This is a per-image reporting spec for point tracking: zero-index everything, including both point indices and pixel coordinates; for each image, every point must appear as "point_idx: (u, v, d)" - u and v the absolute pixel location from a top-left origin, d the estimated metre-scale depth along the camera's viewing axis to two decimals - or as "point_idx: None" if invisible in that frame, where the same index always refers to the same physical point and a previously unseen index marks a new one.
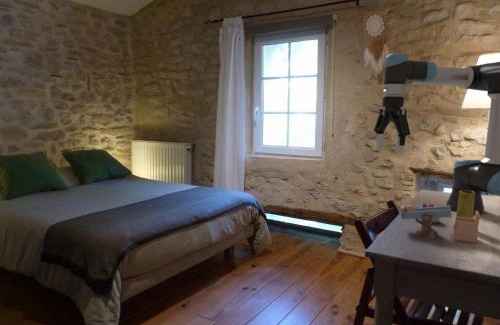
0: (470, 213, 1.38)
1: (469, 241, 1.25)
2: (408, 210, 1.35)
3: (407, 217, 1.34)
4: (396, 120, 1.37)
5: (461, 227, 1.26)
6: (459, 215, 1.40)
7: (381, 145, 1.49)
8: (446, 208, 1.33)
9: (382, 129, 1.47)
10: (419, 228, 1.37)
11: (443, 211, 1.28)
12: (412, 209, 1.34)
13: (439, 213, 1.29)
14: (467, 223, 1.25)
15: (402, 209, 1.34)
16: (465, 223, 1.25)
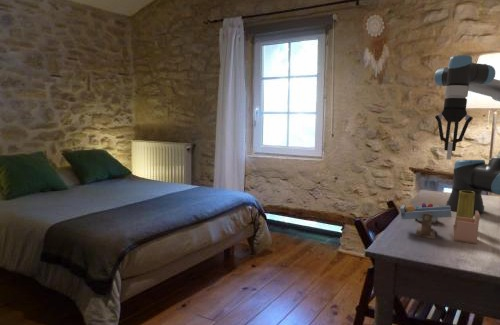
0: (470, 213, 1.38)
1: (469, 241, 1.25)
2: (408, 210, 1.35)
3: (407, 217, 1.34)
4: None
5: (461, 227, 1.26)
6: (459, 215, 1.40)
7: None
8: (446, 208, 1.33)
9: (453, 135, 1.42)
10: (419, 228, 1.37)
11: (443, 211, 1.28)
12: (412, 209, 1.34)
13: (439, 213, 1.29)
14: (467, 223, 1.25)
15: (402, 209, 1.34)
16: (465, 223, 1.25)
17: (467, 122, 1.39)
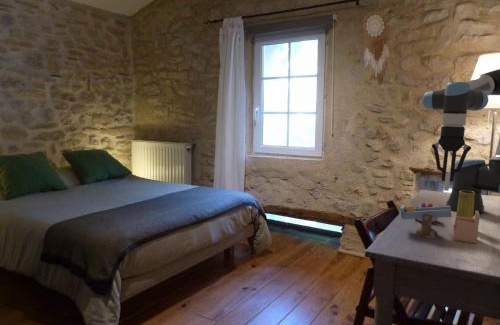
0: (470, 213, 1.38)
1: (469, 241, 1.25)
2: (408, 210, 1.35)
3: (407, 217, 1.34)
4: None
5: (461, 227, 1.26)
6: (459, 215, 1.40)
7: None
8: (446, 208, 1.33)
9: (451, 165, 1.35)
10: (419, 228, 1.37)
11: (443, 211, 1.28)
12: (412, 209, 1.34)
13: (439, 213, 1.29)
14: (467, 223, 1.25)
15: (402, 209, 1.34)
16: (465, 223, 1.25)
17: (465, 152, 1.32)
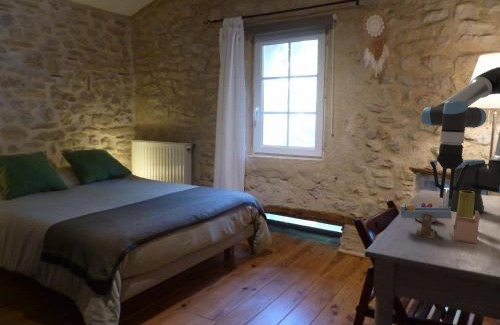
0: (470, 213, 1.38)
1: (469, 241, 1.25)
2: (408, 209, 1.35)
3: (407, 216, 1.34)
4: None
5: (461, 227, 1.26)
6: (459, 215, 1.40)
7: None
8: (446, 209, 1.33)
9: None
10: (419, 228, 1.37)
11: (443, 212, 1.28)
12: (412, 208, 1.34)
13: (439, 214, 1.29)
14: (467, 223, 1.25)
15: (402, 207, 1.34)
16: (465, 223, 1.25)
17: (464, 170, 1.33)
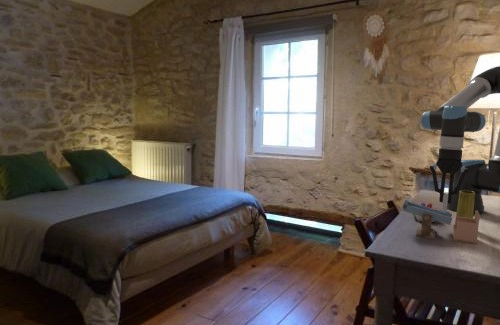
0: (470, 213, 1.38)
1: (469, 241, 1.25)
2: None
3: (408, 210, 1.34)
4: None
5: (461, 227, 1.26)
6: (459, 215, 1.40)
7: None
8: (447, 215, 1.33)
9: None
10: (419, 228, 1.37)
11: (444, 217, 1.28)
12: None
13: (440, 217, 1.29)
14: (467, 223, 1.25)
15: (406, 201, 1.33)
16: (465, 223, 1.25)
17: (463, 174, 1.33)
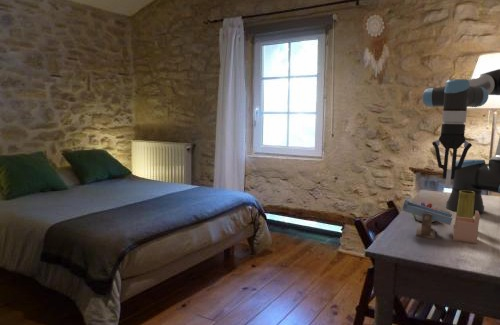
0: (470, 213, 1.38)
1: (469, 241, 1.25)
2: None
3: (408, 210, 1.34)
4: None
5: (461, 227, 1.26)
6: (459, 215, 1.40)
7: None
8: (447, 215, 1.33)
9: (452, 162, 1.35)
10: (419, 228, 1.37)
11: (444, 217, 1.28)
12: None
13: (440, 217, 1.29)
14: (467, 223, 1.25)
15: (406, 201, 1.33)
16: (465, 223, 1.25)
17: (466, 149, 1.32)
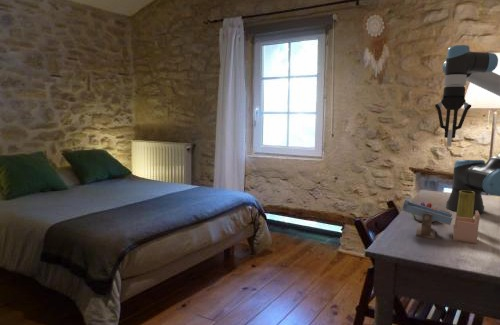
0: (470, 213, 1.38)
1: (469, 241, 1.25)
2: None
3: (408, 210, 1.34)
4: None
5: (461, 227, 1.26)
6: (459, 215, 1.40)
7: None
8: (447, 215, 1.33)
9: (453, 123, 1.47)
10: (419, 228, 1.37)
11: (444, 217, 1.28)
12: None
13: (440, 217, 1.29)
14: (467, 223, 1.25)
15: (406, 201, 1.33)
16: (465, 223, 1.25)
17: (466, 110, 1.44)
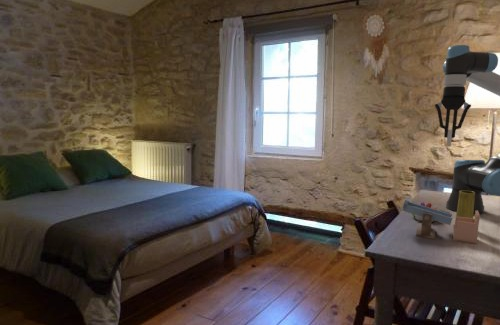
0: (470, 213, 1.38)
1: (469, 241, 1.25)
2: None
3: (408, 210, 1.34)
4: None
5: (461, 227, 1.26)
6: (459, 215, 1.40)
7: None
8: (447, 215, 1.33)
9: None
10: (419, 228, 1.37)
11: (444, 217, 1.28)
12: None
13: (440, 217, 1.29)
14: (467, 223, 1.25)
15: (406, 201, 1.33)
16: (465, 223, 1.25)
17: (466, 109, 1.44)
